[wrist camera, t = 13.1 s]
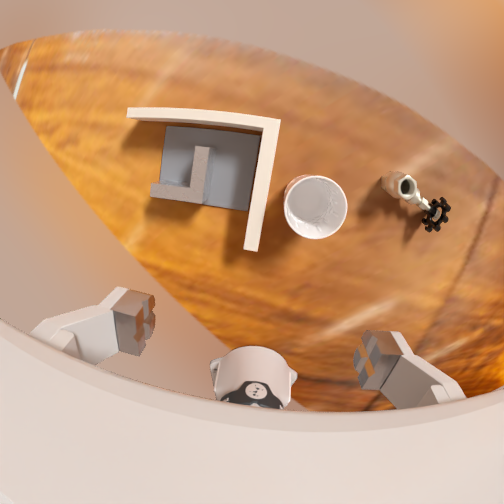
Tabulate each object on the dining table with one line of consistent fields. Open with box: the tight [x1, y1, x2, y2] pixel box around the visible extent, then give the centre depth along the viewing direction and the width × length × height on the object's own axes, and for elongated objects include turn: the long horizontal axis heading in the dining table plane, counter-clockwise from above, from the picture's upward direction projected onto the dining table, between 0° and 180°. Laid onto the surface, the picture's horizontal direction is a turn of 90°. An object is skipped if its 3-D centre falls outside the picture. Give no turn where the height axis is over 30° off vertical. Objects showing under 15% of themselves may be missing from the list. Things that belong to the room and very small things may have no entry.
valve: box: [381, 171, 451, 232], centre depth 37 cm, size 7×7×12 cm
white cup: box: [284, 175, 347, 239], centre depth 37 cm, size 8×8×10 cm
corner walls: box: [127, 108, 281, 252], centre depth 38 cm, size 18×22×6 cm
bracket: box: [150, 146, 216, 204], centre depth 38 cm, size 8×8×5 cm
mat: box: [160, 126, 260, 211], centre depth 40 cm, size 12×15×1 cm
